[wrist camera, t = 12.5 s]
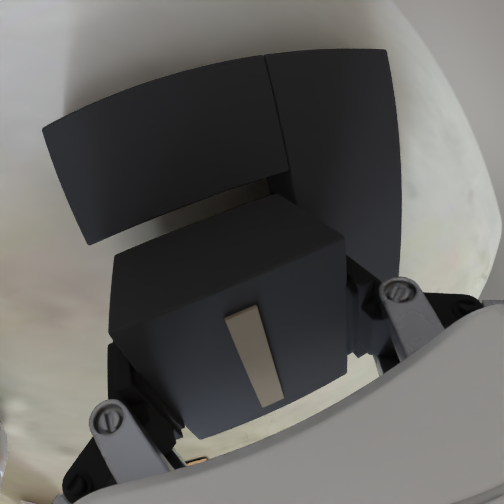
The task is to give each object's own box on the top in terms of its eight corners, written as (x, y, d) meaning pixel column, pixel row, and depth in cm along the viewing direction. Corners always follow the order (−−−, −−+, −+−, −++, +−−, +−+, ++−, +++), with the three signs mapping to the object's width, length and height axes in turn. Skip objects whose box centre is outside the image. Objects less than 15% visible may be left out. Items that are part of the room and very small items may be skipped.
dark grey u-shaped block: (61, 126, 8) (40, 128, 6) (350, 54, 11) (387, 49, 9) (194, 390, 17) (204, 422, 15) (370, 307, 19) (392, 328, 17)
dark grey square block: (113, 254, 9) (106, 336, 6) (276, 192, 10) (348, 237, 7) (178, 365, 12) (200, 442, 9) (299, 314, 13) (348, 375, 10)
